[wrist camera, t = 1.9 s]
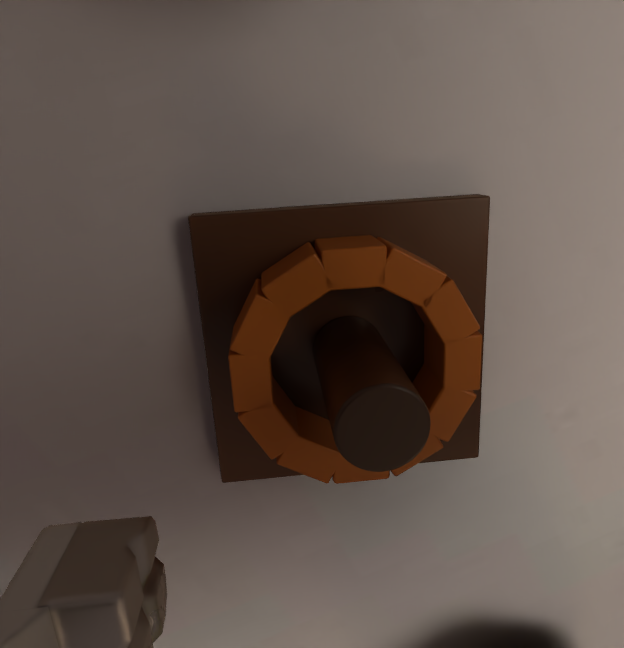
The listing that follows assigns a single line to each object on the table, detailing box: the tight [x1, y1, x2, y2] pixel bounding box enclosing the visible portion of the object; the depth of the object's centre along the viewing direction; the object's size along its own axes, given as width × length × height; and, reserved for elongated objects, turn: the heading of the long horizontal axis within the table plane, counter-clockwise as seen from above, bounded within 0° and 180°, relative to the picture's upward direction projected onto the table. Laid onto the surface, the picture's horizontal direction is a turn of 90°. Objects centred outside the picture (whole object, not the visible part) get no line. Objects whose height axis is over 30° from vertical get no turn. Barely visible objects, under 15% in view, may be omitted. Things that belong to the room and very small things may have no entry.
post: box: [188, 194, 490, 483], centre depth 13 cm, size 8×8×6 cm
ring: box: [228, 235, 482, 484], centre depth 14 cm, size 6×6×2 cm
